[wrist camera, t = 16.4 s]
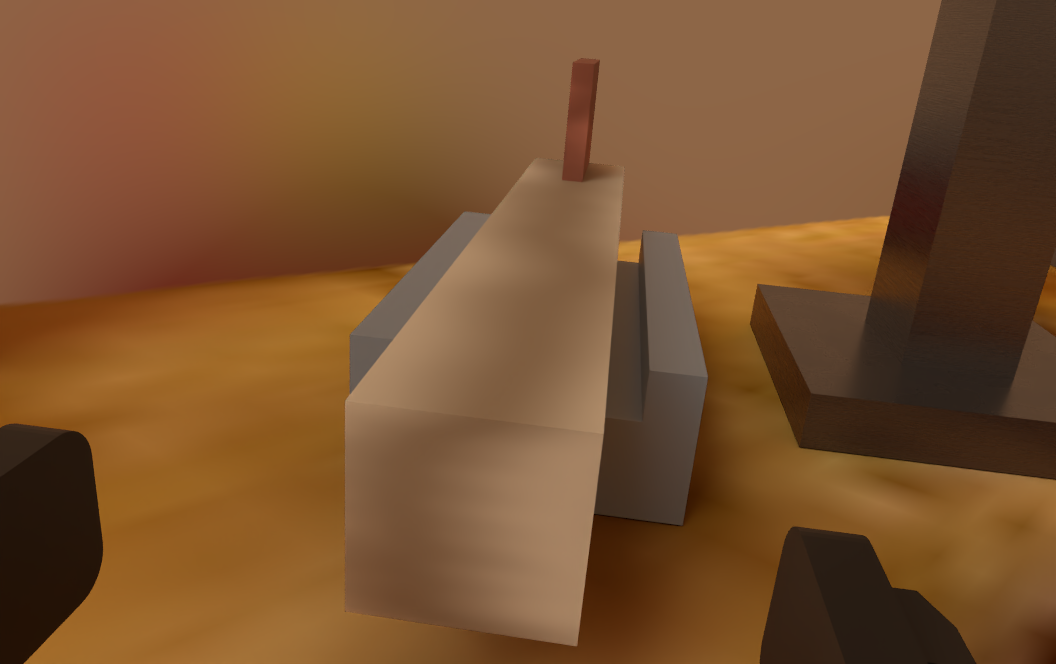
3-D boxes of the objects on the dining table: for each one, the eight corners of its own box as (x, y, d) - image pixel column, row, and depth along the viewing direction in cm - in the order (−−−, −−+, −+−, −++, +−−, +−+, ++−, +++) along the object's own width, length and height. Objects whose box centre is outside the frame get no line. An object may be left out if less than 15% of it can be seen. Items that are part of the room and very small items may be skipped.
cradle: (349, 480, 23) (349, 334, 22) (459, 305, 38) (464, 211, 37) (682, 525, 23) (708, 377, 21) (662, 329, 38) (676, 233, 36)
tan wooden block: (344, 611, 14) (345, 107, 11) (528, 244, 38) (544, 55, 35) (577, 646, 14) (640, 135, 11) (614, 253, 38) (637, 63, 35)
